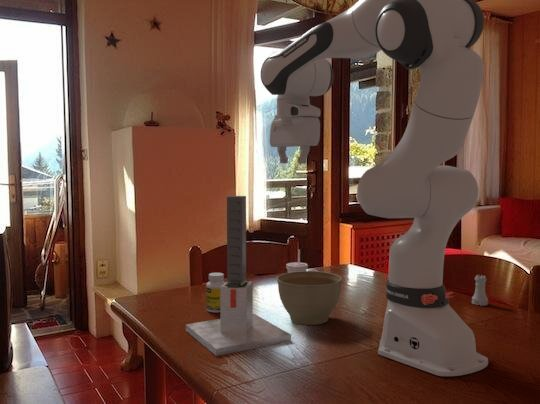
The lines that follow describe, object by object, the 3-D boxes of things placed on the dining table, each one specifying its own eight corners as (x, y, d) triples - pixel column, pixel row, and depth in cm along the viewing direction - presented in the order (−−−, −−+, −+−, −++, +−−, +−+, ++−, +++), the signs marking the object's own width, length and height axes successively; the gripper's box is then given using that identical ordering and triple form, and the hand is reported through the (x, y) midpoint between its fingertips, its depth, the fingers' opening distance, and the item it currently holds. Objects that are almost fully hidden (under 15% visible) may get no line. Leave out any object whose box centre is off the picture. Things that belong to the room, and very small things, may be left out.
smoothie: (308, 299, 148) (308, 251, 147) (286, 299, 149) (286, 251, 147) (307, 294, 155) (307, 247, 154) (285, 293, 155) (286, 247, 154)
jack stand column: (246, 300, 119) (246, 195, 117) (242, 304, 115) (242, 197, 113) (231, 299, 120) (230, 195, 118) (226, 303, 116) (225, 196, 114)
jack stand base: (253, 319, 130) (253, 269, 129) (291, 341, 115) (291, 284, 114) (185, 330, 121) (185, 277, 120) (216, 356, 106) (215, 294, 105)
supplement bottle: (202, 311, 137) (202, 274, 136) (213, 306, 142) (213, 271, 141) (219, 314, 135) (219, 277, 134) (230, 308, 139) (230, 273, 139)
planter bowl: (322, 308, 140) (323, 268, 139) (353, 325, 125) (353, 281, 124) (267, 314, 135) (267, 273, 134) (292, 333, 120) (292, 287, 119)
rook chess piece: (485, 302, 147) (486, 274, 146) (490, 306, 142) (491, 277, 142) (469, 301, 147) (470, 273, 147) (473, 306, 143) (474, 277, 142)
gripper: (264, 114, 146) (264, 163, 147) (303, 108, 128) (303, 163, 129) (283, 115, 149) (283, 163, 150) (324, 109, 131) (323, 163, 132)
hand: (292, 163), depth 140 cm, fingers open, 8 cm apart
